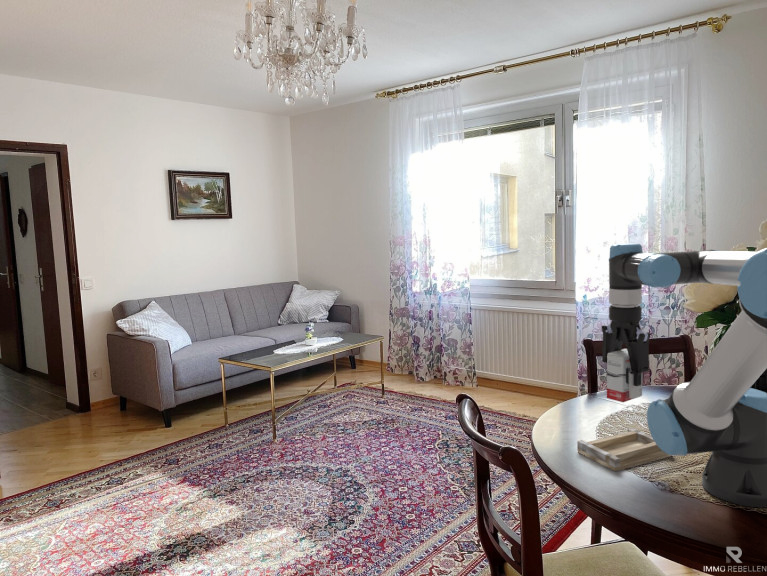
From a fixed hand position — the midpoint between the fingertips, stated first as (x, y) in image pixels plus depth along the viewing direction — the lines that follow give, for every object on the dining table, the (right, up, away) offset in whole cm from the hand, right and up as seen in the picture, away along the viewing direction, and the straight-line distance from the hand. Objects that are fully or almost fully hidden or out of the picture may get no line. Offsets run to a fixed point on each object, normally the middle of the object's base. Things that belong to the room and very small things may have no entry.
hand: (624, 394), depth 141 cm
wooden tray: (+1, -16, +2) cm, 16 cm away
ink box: (0, -1, 0) cm, 1 cm away
